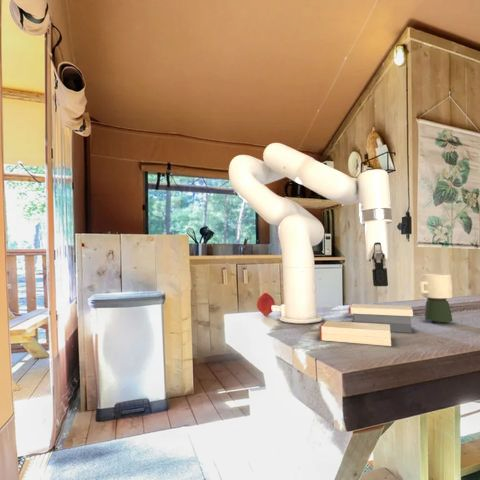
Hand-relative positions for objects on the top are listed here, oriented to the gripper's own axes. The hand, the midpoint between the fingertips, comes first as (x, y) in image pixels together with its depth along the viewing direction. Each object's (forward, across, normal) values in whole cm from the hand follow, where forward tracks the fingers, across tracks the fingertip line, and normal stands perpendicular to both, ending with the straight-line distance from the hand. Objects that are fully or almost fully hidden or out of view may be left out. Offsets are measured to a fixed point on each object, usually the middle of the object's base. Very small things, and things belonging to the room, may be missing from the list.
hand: (381, 284), depth 78 cm
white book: (+7, 0, -1) cm, 7 cm away
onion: (+10, -8, -35) cm, 37 cm away
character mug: (+12, -13, +13) cm, 22 cm away
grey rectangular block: (+11, 0, -1) cm, 11 cm away
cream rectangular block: (+11, +13, -6) cm, 18 cm away
